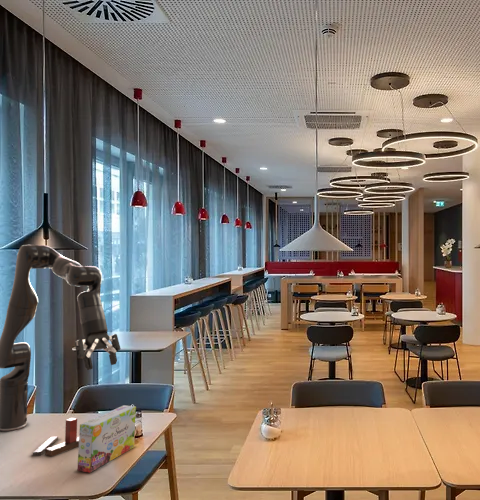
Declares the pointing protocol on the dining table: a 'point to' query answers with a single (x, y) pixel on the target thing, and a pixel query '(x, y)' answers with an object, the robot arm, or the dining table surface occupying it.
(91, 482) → the dining table surface
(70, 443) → the stamp
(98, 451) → the snack box
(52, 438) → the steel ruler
